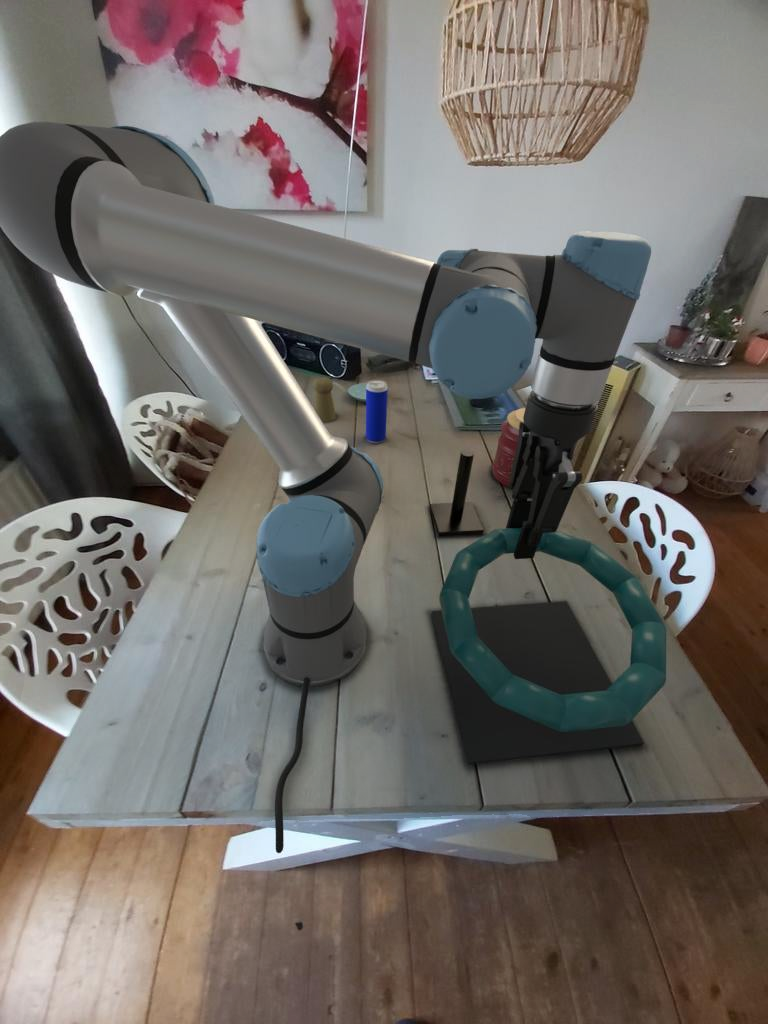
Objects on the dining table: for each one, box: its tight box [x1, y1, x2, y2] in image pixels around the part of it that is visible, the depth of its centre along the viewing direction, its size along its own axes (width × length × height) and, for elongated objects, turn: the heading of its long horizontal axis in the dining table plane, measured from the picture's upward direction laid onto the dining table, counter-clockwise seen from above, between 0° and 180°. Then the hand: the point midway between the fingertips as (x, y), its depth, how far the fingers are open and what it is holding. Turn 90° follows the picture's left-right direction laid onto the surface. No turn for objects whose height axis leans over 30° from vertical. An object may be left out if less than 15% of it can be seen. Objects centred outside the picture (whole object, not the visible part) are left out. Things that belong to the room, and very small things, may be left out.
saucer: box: [347, 382, 368, 403], centre depth 133 cm, size 12×12×2 cm
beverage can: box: [365, 379, 389, 444], centre depth 110 cm, size 5×5×15 cm
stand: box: [429, 449, 485, 538], centre depth 85 cm, size 9×9×16 cm
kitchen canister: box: [491, 407, 526, 488], centre depth 98 cm, size 13×13×18 cm
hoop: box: [438, 527, 667, 732], centre depth 56 cm, size 27×27×4 cm
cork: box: [312, 376, 337, 423], centre depth 120 cm, size 6×6×11 cm
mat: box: [431, 600, 645, 765], centre depth 64 cm, size 23×23×1 cm
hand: (518, 546), depth 64 cm, fingers closed on hoop, 3 cm apart
